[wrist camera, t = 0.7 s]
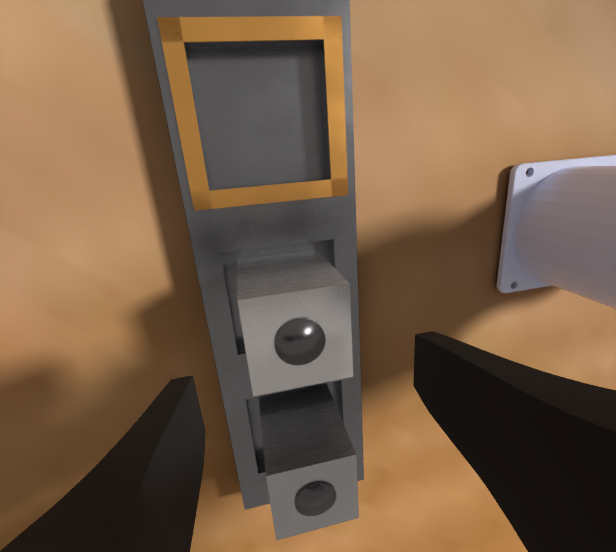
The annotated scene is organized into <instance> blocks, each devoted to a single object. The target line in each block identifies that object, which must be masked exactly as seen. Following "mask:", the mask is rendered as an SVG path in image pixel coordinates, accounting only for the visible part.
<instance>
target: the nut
mask: <svg viewBox="0 0 616 552" xmlns="http://www.w3.org/2000/svg"><path fill="white" fill-rule="evenodd" d="M259 406H260V417H261V428H262V438H263V449H264V460H265V470H266V479H267V485H268V491H269V498H270V504H271V510H272V516H273V522H274V528H275V534H276V540H280V539H283V538H287V537H291V536H294V535H298V534H302V533H305V532H309V531H312V530H316V529H320V528H323V527H327V526H331V525H334V524H338V523H342V522H345V521H349V520H353V519H356V518H359V510H358V484H357V459H356V453H355V450H354V448H353V445H352V443H351V441H350V438H349V436H348V433H347V431H346V428H345V426H344V424H343V421H342V419H341V416H340V414H339V412H338V409H337V407H336V404H335V402H334V400H333V397H332V395H331V392H330V390H329V388H328V385H327V383H326V384H321V385H316V386H311V387H306V388H301V389H296V390H291V391H286V392H281V393H276V394H271V395H266V396H261V397H259Z"/></svg>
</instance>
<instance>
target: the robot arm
mask: <svg viewBox="0 0 616 552" xmlns="http://www.w3.org/2000/svg"><path fill="white" fill-rule="evenodd" d="M527 169H528V174H527V175H526V171H527ZM512 283H513V284H512ZM511 284H512V286H511ZM552 285H553V286H556V287H558V288H561V289H564V290H566V291H569V292H572V293H574V294H577V295H580V296H582V297H585V298H588V299H590V300H593V301H596V302H599V303H601V304H604V305H607V306H609V307H612V308H615V309H616V155H607V156H596V157H586V158H575V159H565V160H554V161H543V162H533V163H522V164H517V165H515V166H514V167H513V168H512V169H511V172H510V178H509V186H508V195H507V203H506V212H505V220H504V228H503V237H502V245H501V253H500V262H499V270H498V279H497V289H498V291H500V292H502V293H511V292H517V291H522V290H528V289H534V288H540V287H546V286H552ZM413 386H414V387H415V389H416V391H417V393H418V394H419V396H420V398H421V400H422V401H423V403H424V405H425V406H426V408H427V409H428V411H429V413H430V414H431V415H432V417H433V418H434V419H435V421H436V422H437V423H438V424H439V426H440V427H441V428H442V430H443V431H444V432H445V433H446V435H447V436H448V437H449V439H450V440H451V441H452V442H453V444H454V445H455V446H456V447H457V449H458V450H459V451H460V452H461V454H462V455H463V456H464V458H465V459H466V460H467V461H468V463H469V464H470V465H471V466H472V468H473V469H474V470H475V472H476V473H477V474H478V476H479V477H480V478H481V480H482V481H483V482H484V484H485V485H486V487H487V488H488V489H489V491H490V492H491V494H492V496H493V497H494V499H495V500H496V502H497V503H498V505H499V506H500V508H501V509H502V511H503V512H504V514H505V515H506V517H507V519H508V520H509V522H510V523H511V525H512V526H513V528H514V530H515V531H516V533H517V535H518V536H519V538H520V539H521V541H522V543H523V544H524V546H525V547H526V549H527V551H528V552H616V390H611V389H607V388H602V387H598V386H594V385H590V384H586V383H582V382H578V381H575V380H571V379H567V378H564V377H560V376H557V375H553V374H550V373H546V372H543V371H540V370H537V369H534V368H531V367H528V366H525V365H522V364H519V363H516V362H513V361H511V360H508V359H505V358H502V357H500V356H497V355H494V354H492V353H489V352H487V351H484V350H481V349H479V348H476V347H474V346H471V345H469V344H466V343H464V342H461V341H458V340H456V339H453V338H450V337H448V336H445V335H442V334H439V333H436V332H432V331H431V332H426V333H420V334H415V355H414V385H413ZM204 450H205V427H204V422H203V418H202V414H201V409H200V405H199V401H198V396H197V392H196V388H195V383H194V379H193V376H187V377H182V378H176V379H171V380H170V382H169V383H168V384H167V385H166V386H165V388H164V389H163V390H162V391H161V392H160V394H159V395H158V396H157V397H156V399H155V400H154V401H153V402H152V404H151V405H150V406H149V407H148V408H147V410H146V411H145V412H144V413H143V414H142V416H141V417H140V418H139V419H138V420H137V421H136V423H135V424H134V425H133V426H132V427H131V429H130V430H129V431H128V432H127V433H126V434H125V435H124V436H123V437H122V438H121V440H120V441H119V442H118V443H117V444H116V445H115V446H114V447H113V448H112V449H111V450H110V451H109V453H108V454H107V455H106V456H105V457H104V458H103V459H102V460H101V461H100V462H99V463H98V464H97V465H96V466H95V467H94V468H93V469H92V470H91V471H90V472H89V473H88V474H87V475H86V476H85V477H84V478H83V479H82V480H81V481H80V482H79V483H78V484H77V485H76V486H75V487H74V488H72V489H71V490H70V491H69V492H68V493H67V494H66V495H65V496H64V497H63V498H62V499H61V500H60V501H58V502H57V503H56V504H55V505H54V506H53V507H52V508H51V509H49V510H48V511H47V512H46V513H45V514H44V515H42V516H41V517H40V518H39V519H38V520H36V521H35V522H34V523H33V524H32V525H30V526H29V527H28V528H27V529H26V530H25V531H23V532H22V533H21V534H20V535H19V536H17V537H16V538H15V539H14V540H13V541H11V542H10V543H9V544H8V545H7V546H6V547H4V548H3V549H2V550H1V551H0V552H190V547H191V541H192V535H193V529H194V523H195V517H196V510H197V504H198V498H199V492H200V485H201V479H202V473H203V466H204Z"/></svg>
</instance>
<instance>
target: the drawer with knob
mask: <svg viewBox="0 0 616 552" xmlns="http://www.w3.org/2000/svg"><path fill="white" fill-rule="evenodd" d="M237 301H238V307H239V313H240V319H241V325H242V331H243V338H244V344H245V350H246V356H247V362H248V368H249V374H250V381H251V387H252V393H253V397H254V396H259V395H264V394H269V393H274V392H279V391H284V390H289V389H294V388H299V387H304V386H309V385H314V384H319V383H324V382H329V381H334V380H339V379H344V378H349V377H353V356H352V330H351V304H350V283H349V282H348V281H347V280H346V279H345V278H344V277H343V276H342V275H341V274H340V273H339V272H338V271H337V270H336V269H335V268H334V267H333V266H332V265H331V264H330V263H329V262H328V261H327V260H326V259H325V258H324V257H323V256H322V255H321V253H320V252H319V251H318V250H311V251H303V252H295V253H287V254H280V255H272V256H264V257H256V258H249V259H241V260H237Z"/></svg>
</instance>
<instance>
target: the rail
mask: <svg viewBox="0 0 616 552" xmlns="http://www.w3.org/2000/svg"><path fill="white" fill-rule="evenodd" d="M143 4H144V9H145V14H146V19H147V24H148V29H149V34H150V39H151V44H152V49H153V54H154V59H155V64H156V69H157V74H158V79H159V84H160V89H161V94H162V99H163V104H164V109H165V114H166V119H167V124H168V129H169V134H170V139H171V144H172V149H173V154H174V159H175V163H176V168H177V173H178V178H179V183H180V188H181V193H182V198H183V203H184V208H185V213H186V218H187V223H188V228H189V233H190V238H191V243H192V248H193V253H194V258H195V263H196V268H197V273H198V278H199V283H200V288H201V293H202V298H203V303H204V308H205V313H206V318H207V323H208V328H209V333H210V338H211V343H212V348H213V353H214V358H215V363H216V368H217V373H218V378H219V383H220V388H221V393H222V398H223V403H224V408H225V413H226V418H227V423H228V428H229V433H230V438H231V443H232V448H233V453H234V458H235V463H236V468H237V473H238V478H239V483H240V488H241V493H242V498H243V503H244V508H245V510H246V509H250V508H254V507H258V506H262V505H265V504H269V503H270V498H269V491H268V485H267V479H266V470H265V460H264V449H263V438H262V428H261V417H260V406H259V397H261V396H266V395H271V394H276V393H281V392H286V391H291V390H296V389H301V388H306V387H311V386H316V385H321V384H326V383H327V385H328V388H329V390H330V392H331V395H332V397H333V400H334V402H335V404H336V407H337V409H338V412H339V414H340V416H341V419H342V421H343V424H344V426H345V428H346V431H347V433H348V436H349V438H350V441H351V443H352V445H353V448H354V450H355V453H356V459H357V481H360V480H364V467H363V434H362V401H361V367H360V334H359V300H358V267H357V234H356V200H355V167H354V133H353V100H352V67H351V33H350V0H143ZM311 250H318V251H319V252H320V253H321V255H322V256H323V257H324V258H325V259H326V260H327V261H328V262H329V263H330V264H331V265H332V266H333V267H334V268H335V269H336V270H337V271H338V272H339V273H340V274H341V275H342V276H343V277H344V278H345V279H346V280H347V281H348V282H349V283H350V304H351V330H352V356H353V377H349V378H344V379H339V380H334V381H329V382H324V383H319V384H314V385H309V386H304V387H299V388H294V389H289V390H284V391H279V392H274V393H269V394H264V395H259V396H254V397H253V393H252V387H251V381H250V374H249V368H248V362H247V356H246V350H245V344H244V338H243V331H242V325H241V319H240V313H239V307H238V301H237V260H241V259H249V258H256V257H264V256H272V255H280V254H287V253H295V252H303V251H311Z"/></svg>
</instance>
